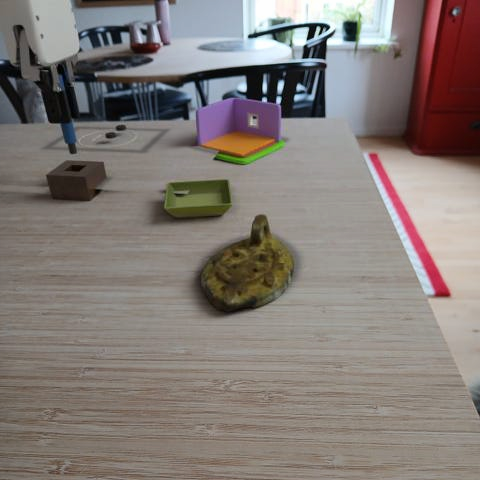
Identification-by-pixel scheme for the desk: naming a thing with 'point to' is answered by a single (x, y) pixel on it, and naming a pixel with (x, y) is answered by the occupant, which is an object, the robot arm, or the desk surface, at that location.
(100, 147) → the ring
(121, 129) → the dot
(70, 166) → the stand
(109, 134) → the dot
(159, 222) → the desk surface
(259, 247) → the seal
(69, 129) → the blue rod
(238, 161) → the miniature room corner
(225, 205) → the green rectangular tray
